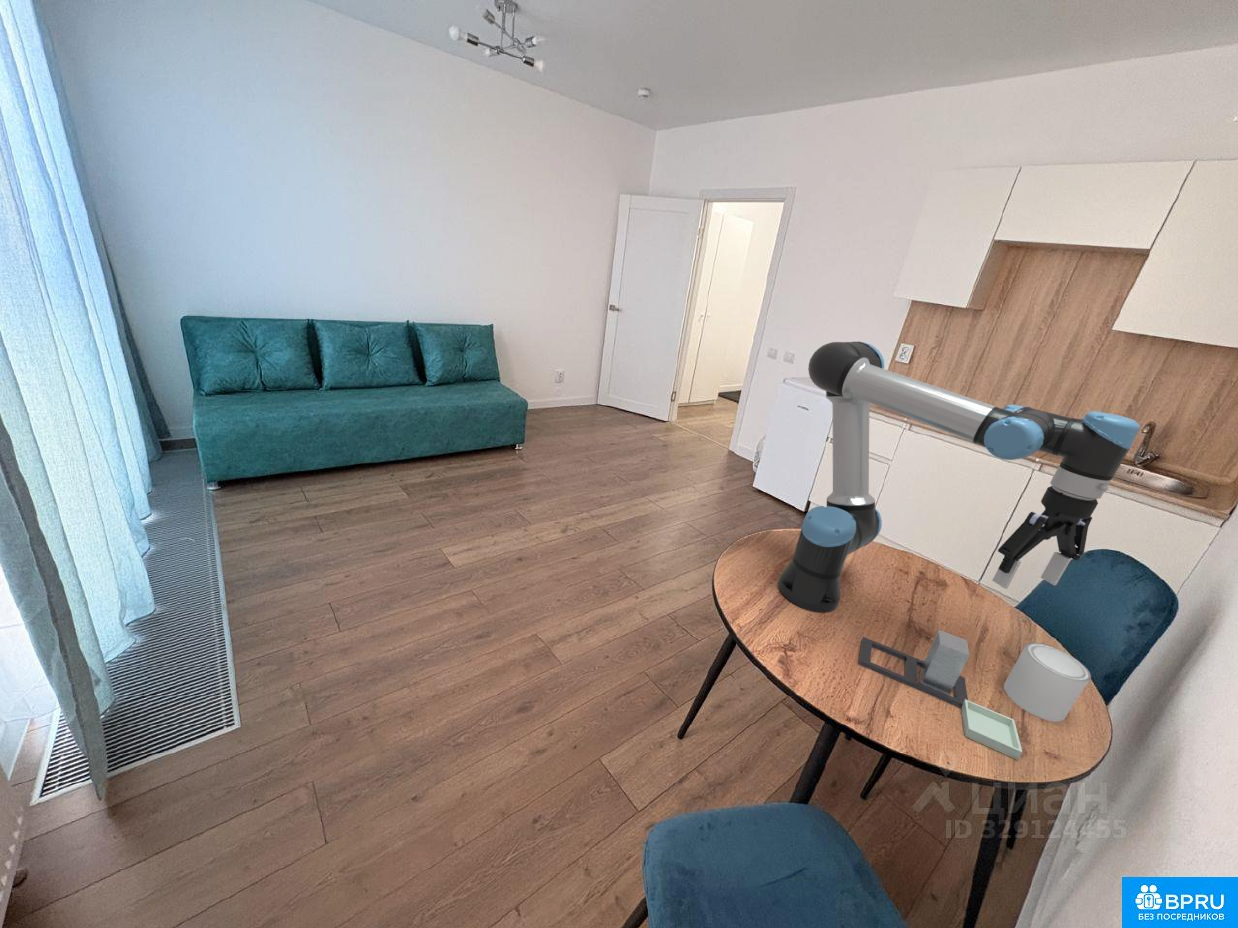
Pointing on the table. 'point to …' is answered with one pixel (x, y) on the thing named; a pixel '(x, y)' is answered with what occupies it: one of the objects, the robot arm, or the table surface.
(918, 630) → the table surface
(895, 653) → the double window frame
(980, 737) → the tray
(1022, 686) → the mug
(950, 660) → the grey rectangular block
